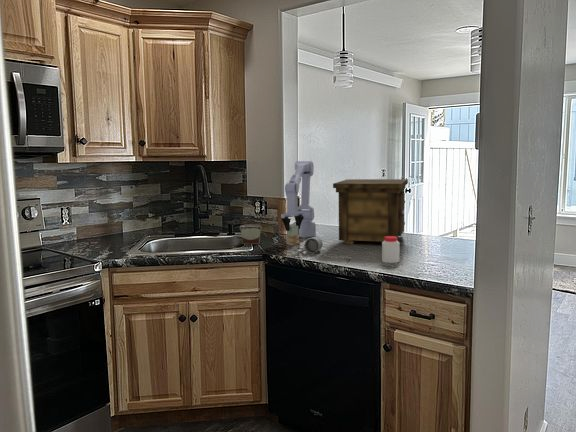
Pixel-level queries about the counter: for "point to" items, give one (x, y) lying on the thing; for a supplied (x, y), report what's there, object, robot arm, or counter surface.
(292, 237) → the slab upper
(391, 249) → the pill bottle
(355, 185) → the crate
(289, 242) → the slab lower
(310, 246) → the ceramic mug
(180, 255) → the counter surface
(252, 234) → the food container
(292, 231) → the sage block
